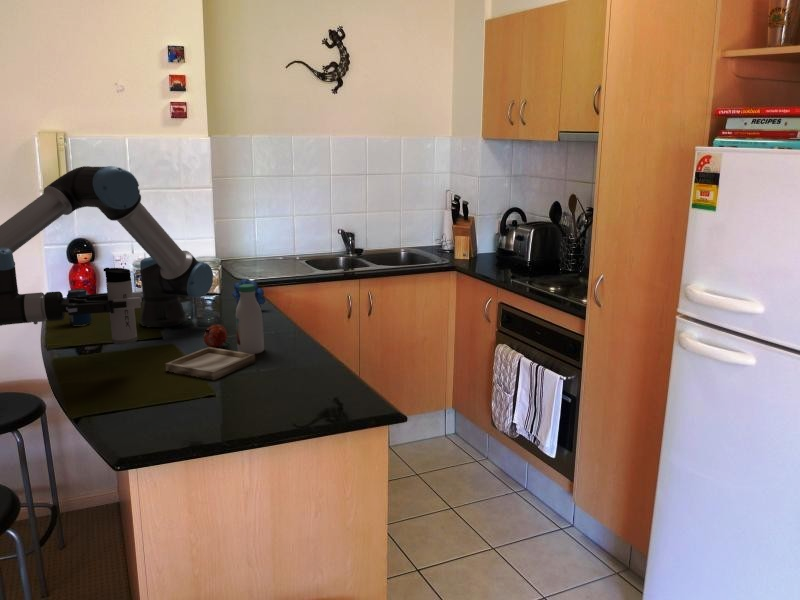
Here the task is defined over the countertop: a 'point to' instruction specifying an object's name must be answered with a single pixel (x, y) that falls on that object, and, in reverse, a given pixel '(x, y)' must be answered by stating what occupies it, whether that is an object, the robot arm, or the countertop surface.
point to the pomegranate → (215, 336)
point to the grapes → (258, 292)
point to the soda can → (79, 318)
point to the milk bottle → (249, 322)
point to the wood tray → (210, 363)
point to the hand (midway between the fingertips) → (140, 299)
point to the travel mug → (124, 318)
